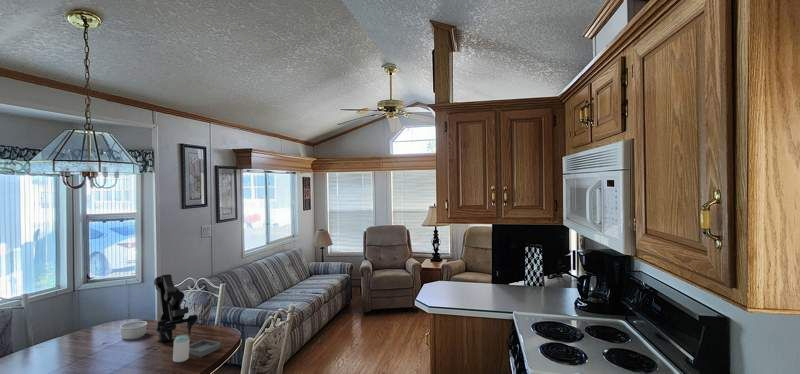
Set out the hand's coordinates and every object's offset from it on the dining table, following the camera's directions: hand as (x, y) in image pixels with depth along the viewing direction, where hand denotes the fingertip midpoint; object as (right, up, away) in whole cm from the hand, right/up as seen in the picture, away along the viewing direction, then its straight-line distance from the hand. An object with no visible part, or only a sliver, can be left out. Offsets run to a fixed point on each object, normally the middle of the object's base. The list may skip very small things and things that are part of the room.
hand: (179, 337), depth 193 cm
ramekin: (-43, -10, +26) cm, 52 cm away
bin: (+7, -11, +9) cm, 16 cm away
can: (+2, -11, -3) cm, 12 cm away
